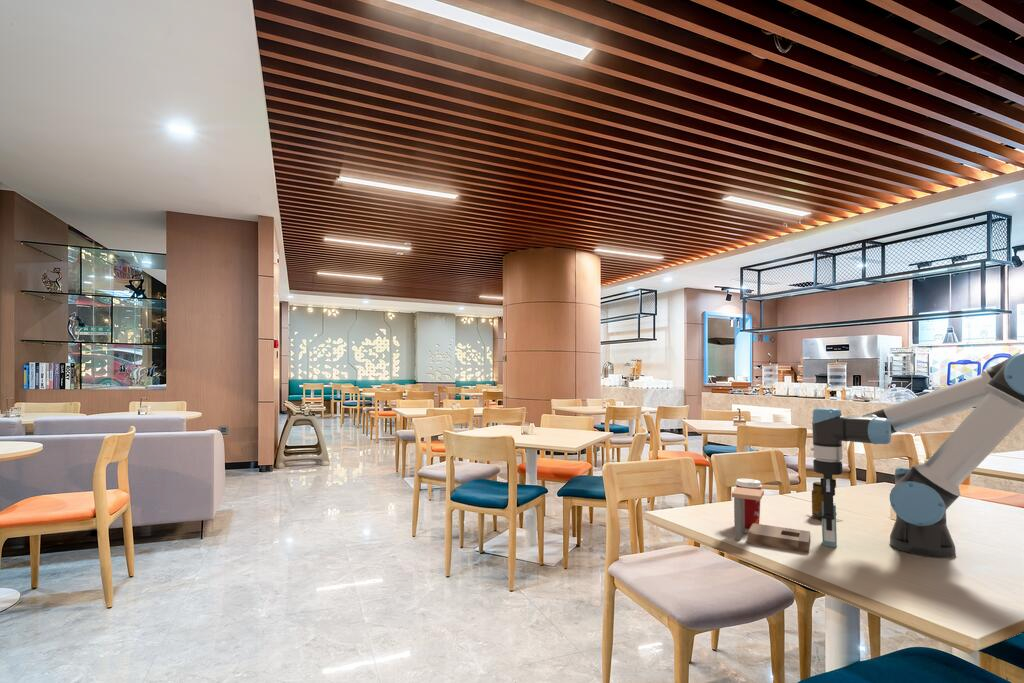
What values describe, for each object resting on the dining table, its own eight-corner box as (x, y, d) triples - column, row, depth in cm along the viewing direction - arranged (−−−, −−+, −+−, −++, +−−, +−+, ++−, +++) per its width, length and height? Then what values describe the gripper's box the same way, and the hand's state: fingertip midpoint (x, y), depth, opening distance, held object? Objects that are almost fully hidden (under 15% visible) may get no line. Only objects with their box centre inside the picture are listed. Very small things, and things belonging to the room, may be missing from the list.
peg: (836, 543, 158) (835, 503, 159) (836, 547, 155) (835, 505, 155) (822, 541, 160) (821, 501, 160) (822, 545, 157) (821, 504, 157)
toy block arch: (764, 535, 166) (763, 490, 166) (760, 544, 157) (760, 496, 158) (737, 531, 170) (736, 487, 170) (732, 539, 161) (731, 493, 162)
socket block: (810, 541, 160) (810, 531, 160) (808, 553, 150) (808, 542, 150) (752, 532, 168) (752, 523, 168) (747, 543, 158) (747, 532, 158)
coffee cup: (765, 530, 170) (764, 483, 171) (738, 529, 172) (737, 482, 173) (759, 523, 179) (758, 478, 179) (733, 521, 180) (732, 477, 181)
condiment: (822, 514, 191) (822, 480, 191) (842, 521, 182) (841, 486, 183) (805, 515, 189) (804, 481, 190) (824, 522, 181) (823, 486, 181)
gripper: (814, 454, 168) (815, 529, 166) (812, 462, 154) (814, 544, 152) (841, 457, 164) (843, 533, 163) (842, 465, 150) (844, 549, 148)
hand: (829, 538), depth 157 cm, fingers closed on peg, 4 cm apart
